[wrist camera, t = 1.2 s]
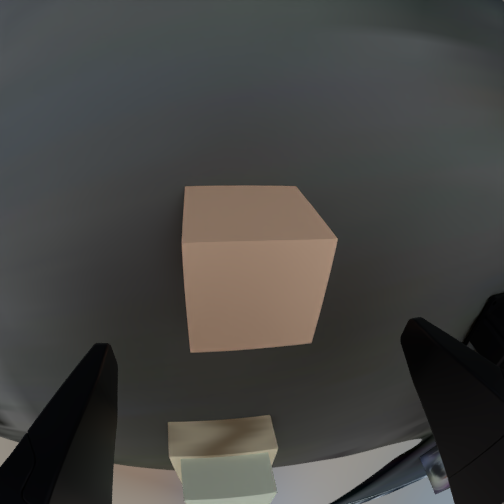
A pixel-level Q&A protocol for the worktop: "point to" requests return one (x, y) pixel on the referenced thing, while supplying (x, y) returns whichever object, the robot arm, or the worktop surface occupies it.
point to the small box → (435, 470)
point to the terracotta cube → (253, 266)
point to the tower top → (228, 480)
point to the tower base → (220, 439)
